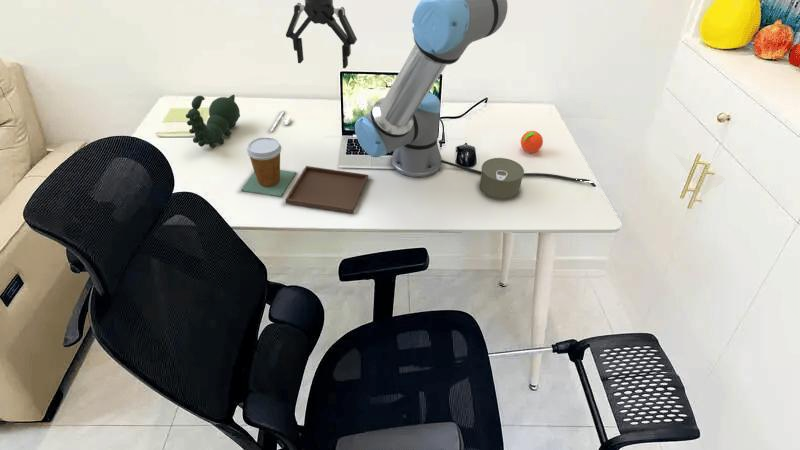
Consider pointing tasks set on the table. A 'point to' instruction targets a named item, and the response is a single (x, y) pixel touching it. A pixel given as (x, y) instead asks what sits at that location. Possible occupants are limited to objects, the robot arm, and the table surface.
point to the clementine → (531, 141)
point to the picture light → (279, 119)
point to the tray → (328, 189)
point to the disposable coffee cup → (265, 160)
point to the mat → (274, 190)
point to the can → (501, 178)
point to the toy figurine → (213, 120)
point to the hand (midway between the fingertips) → (323, 64)
